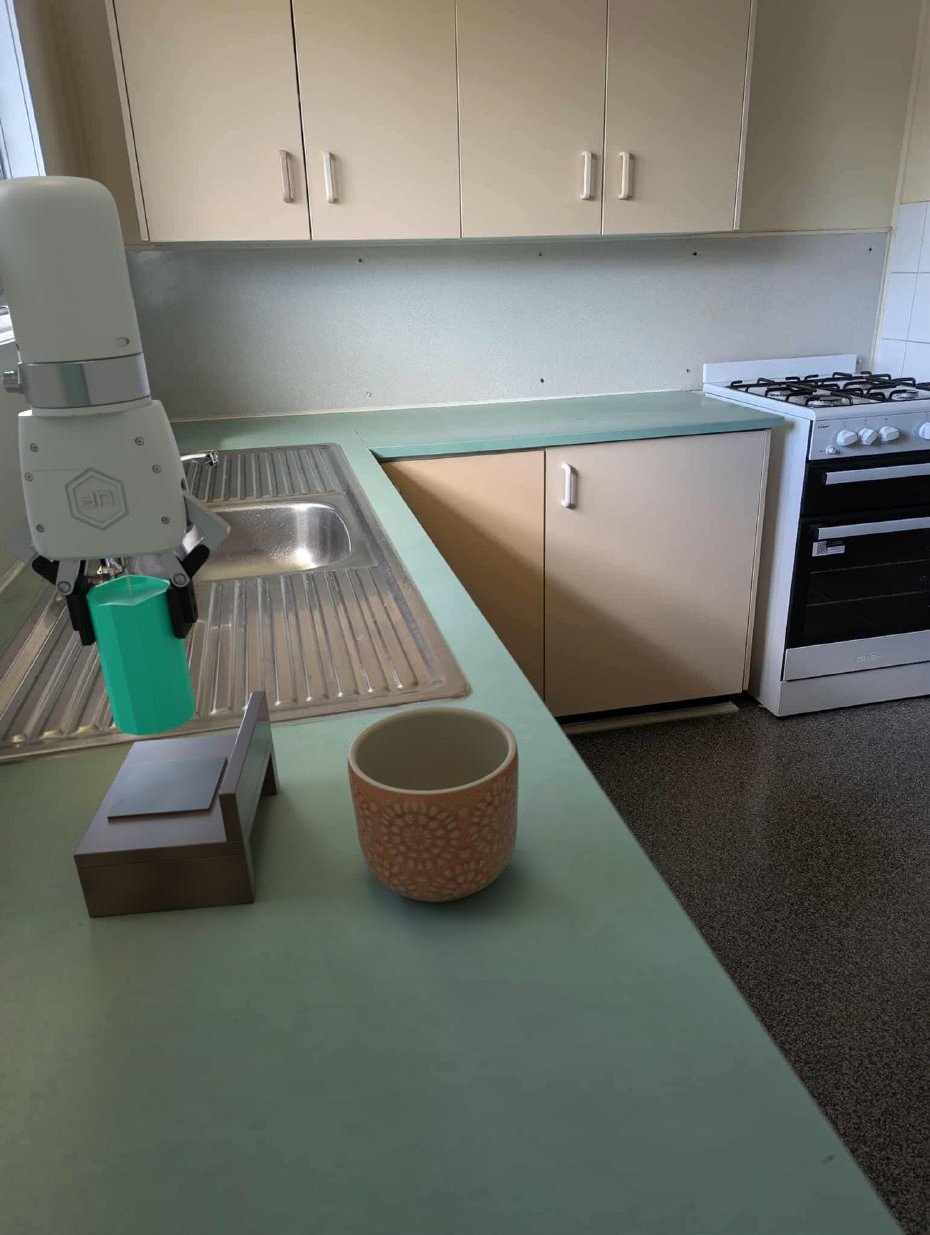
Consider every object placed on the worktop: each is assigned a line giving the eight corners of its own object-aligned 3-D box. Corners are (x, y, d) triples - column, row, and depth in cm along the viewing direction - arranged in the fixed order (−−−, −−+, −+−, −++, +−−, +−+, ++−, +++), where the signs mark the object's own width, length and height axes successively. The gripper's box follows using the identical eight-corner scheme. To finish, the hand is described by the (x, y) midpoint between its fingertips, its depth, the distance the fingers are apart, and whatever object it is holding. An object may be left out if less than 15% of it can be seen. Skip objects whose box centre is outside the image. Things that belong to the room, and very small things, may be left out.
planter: (461, 803, 75) (455, 690, 71) (554, 878, 66) (553, 752, 62) (332, 860, 69) (317, 739, 65) (414, 951, 59) (402, 817, 55)
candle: (112, 708, 69) (80, 564, 64) (191, 691, 71) (165, 550, 66) (117, 743, 64) (82, 588, 59) (201, 723, 66) (173, 573, 61)
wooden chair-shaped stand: (89, 917, 64) (60, 807, 60) (145, 795, 79) (125, 701, 75) (254, 903, 65) (235, 793, 61) (279, 784, 80) (265, 690, 76)
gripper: (-73, 401, 54) (-1, 665, 61) (209, 385, 55) (249, 647, 62) (-21, 386, 61) (39, 624, 68) (229, 372, 62) (263, 608, 69)
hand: (139, 633), depth 65 cm, fingers closed on candle, 5 cm apart
